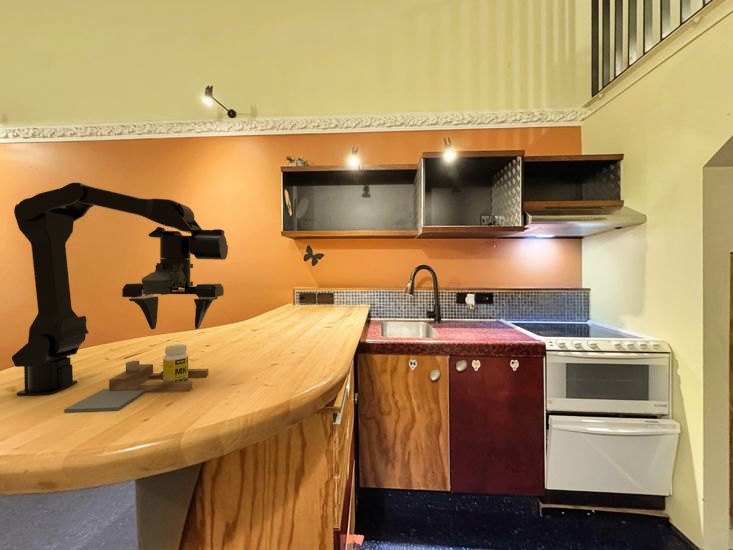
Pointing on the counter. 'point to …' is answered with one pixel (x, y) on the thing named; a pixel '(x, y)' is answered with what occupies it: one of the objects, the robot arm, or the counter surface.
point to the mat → (105, 401)
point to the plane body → (141, 373)
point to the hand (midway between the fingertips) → (175, 328)
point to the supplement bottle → (175, 363)
